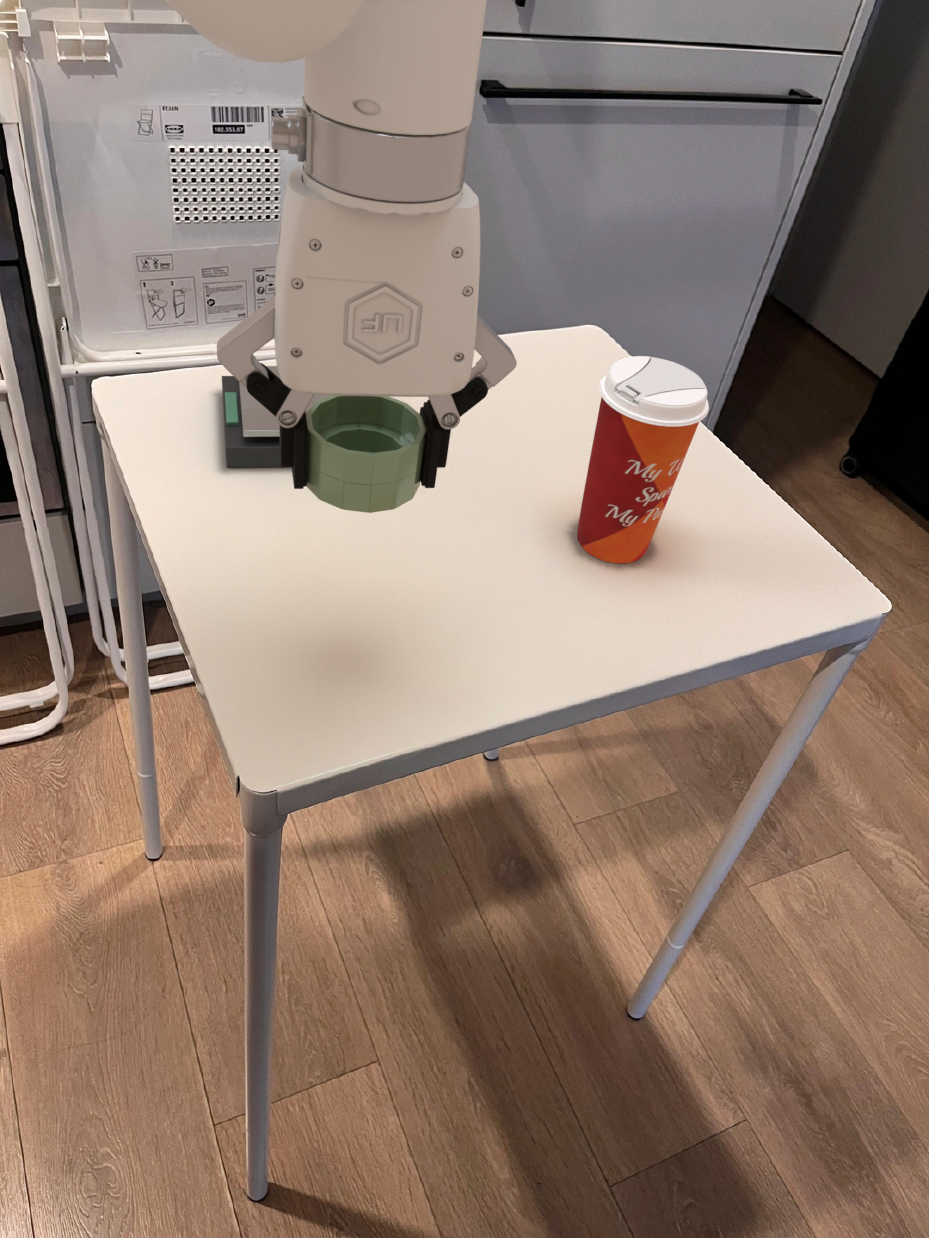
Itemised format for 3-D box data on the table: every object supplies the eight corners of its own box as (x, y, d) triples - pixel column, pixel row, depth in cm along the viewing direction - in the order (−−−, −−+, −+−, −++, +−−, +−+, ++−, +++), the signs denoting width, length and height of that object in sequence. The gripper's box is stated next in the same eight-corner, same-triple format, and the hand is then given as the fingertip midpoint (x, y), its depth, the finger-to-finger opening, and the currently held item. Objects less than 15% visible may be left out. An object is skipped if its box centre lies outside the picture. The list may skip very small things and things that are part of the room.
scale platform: (243, 437, 79) (243, 431, 79) (238, 371, 87) (237, 365, 86) (374, 436, 82) (374, 430, 81) (358, 372, 89) (358, 366, 89)
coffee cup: (615, 585, 75) (666, 420, 65) (542, 531, 79) (580, 367, 69) (681, 550, 80) (738, 390, 69) (609, 500, 84) (653, 342, 74)
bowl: (309, 519, 53) (310, 456, 50) (300, 451, 58) (301, 390, 55) (426, 518, 55) (434, 456, 52) (408, 452, 59) (415, 392, 57)
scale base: (226, 468, 80) (225, 444, 79) (222, 394, 89) (221, 372, 87) (390, 465, 83) (392, 443, 82) (371, 395, 92) (372, 374, 90)
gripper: (189, 167, 39) (209, 515, 51) (585, 195, 43) (518, 512, 55) (191, 112, 44) (209, 439, 56) (543, 142, 49) (490, 441, 60)
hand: (362, 473), depth 56 cm, fingers closed on bowl, 6 cm apart
